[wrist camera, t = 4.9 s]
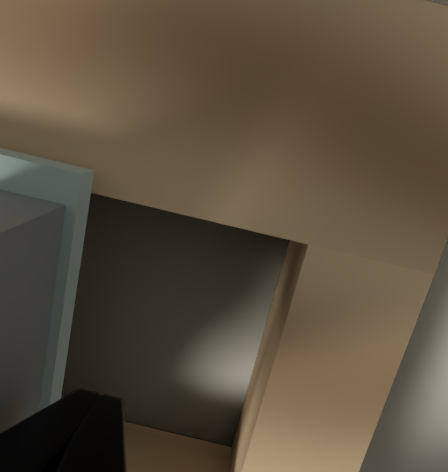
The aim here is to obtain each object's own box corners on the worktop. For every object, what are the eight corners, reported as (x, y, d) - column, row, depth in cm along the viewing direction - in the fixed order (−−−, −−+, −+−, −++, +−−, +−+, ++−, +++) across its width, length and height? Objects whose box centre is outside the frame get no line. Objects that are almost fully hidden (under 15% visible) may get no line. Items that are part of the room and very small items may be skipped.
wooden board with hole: (245, 665, 14) (245, 768, 12) (-208, 556, 15) (-295, 638, 12) (461, 50, 9) (530, 25, 7) (-245, -117, 9) (-408, -197, 7)
